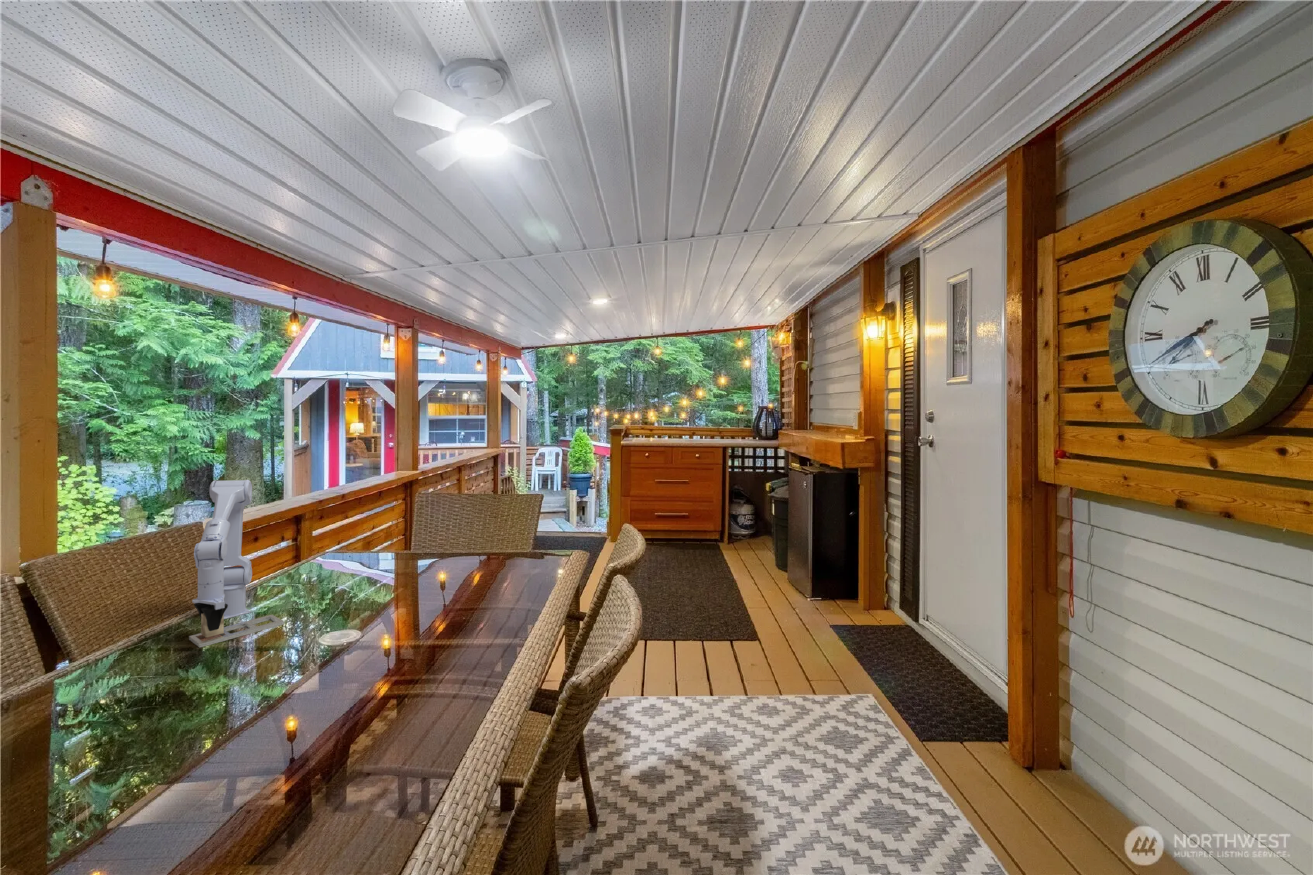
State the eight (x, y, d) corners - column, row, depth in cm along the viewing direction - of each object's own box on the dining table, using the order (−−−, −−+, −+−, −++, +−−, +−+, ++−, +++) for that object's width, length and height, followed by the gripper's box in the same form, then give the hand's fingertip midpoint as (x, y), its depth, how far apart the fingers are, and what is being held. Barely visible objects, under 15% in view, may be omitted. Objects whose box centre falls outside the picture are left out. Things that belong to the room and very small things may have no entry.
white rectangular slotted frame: (189, 639, 149) (189, 636, 149) (272, 617, 166) (272, 614, 166) (199, 647, 145) (199, 644, 144) (283, 624, 162) (283, 621, 162)
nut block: (201, 634, 150) (201, 613, 149) (218, 629, 153) (218, 609, 153) (206, 637, 147) (206, 617, 147) (223, 633, 151) (223, 612, 151)
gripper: (184, 580, 150) (184, 625, 150) (202, 590, 142) (202, 639, 143) (214, 574, 156) (214, 618, 156) (233, 584, 148) (233, 630, 148)
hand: (210, 627), depth 150 cm, fingers closed on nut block, 4 cm apart
